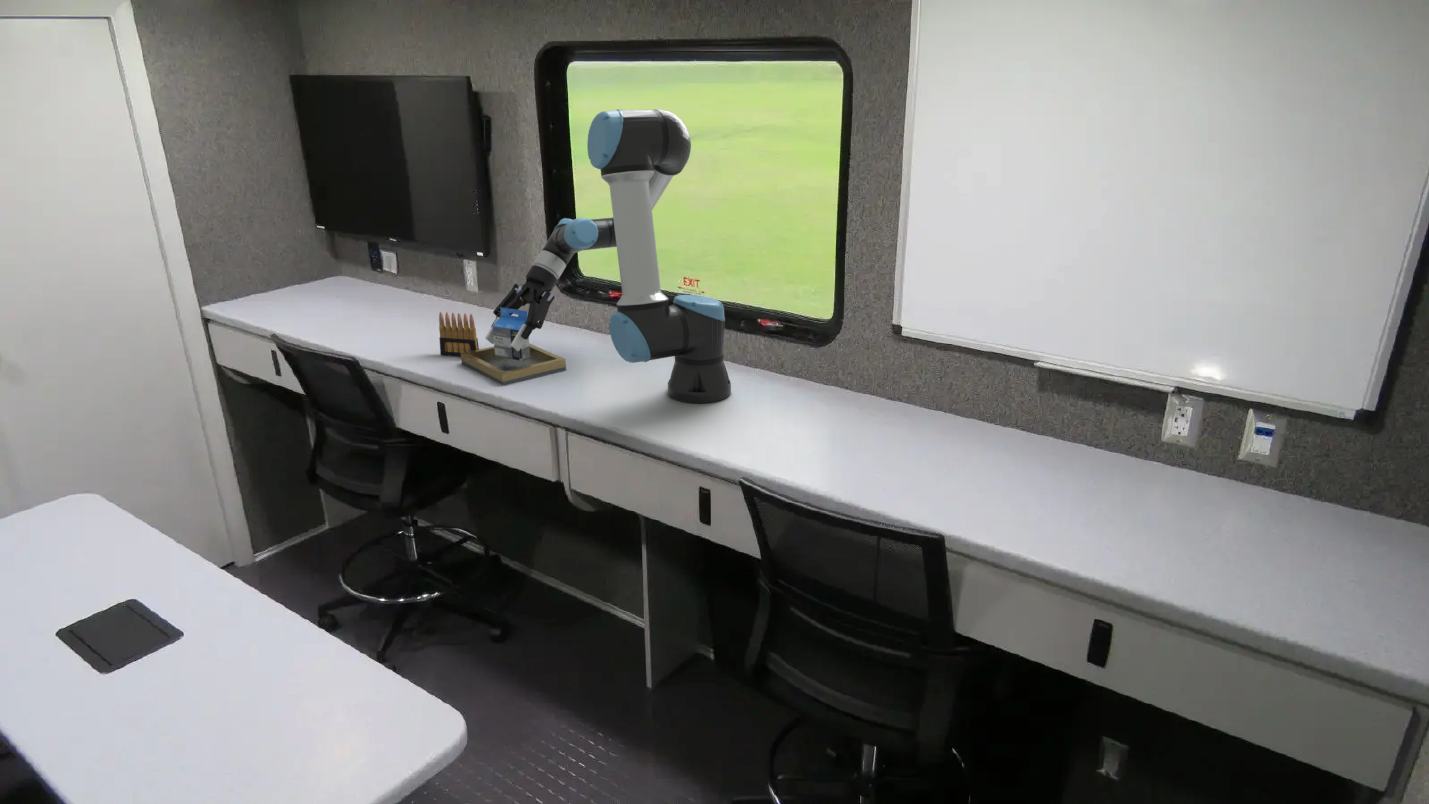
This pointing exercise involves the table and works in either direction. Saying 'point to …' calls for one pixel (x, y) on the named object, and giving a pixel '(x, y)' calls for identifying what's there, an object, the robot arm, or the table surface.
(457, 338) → the ammunition clip
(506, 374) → the shallow wooden tray
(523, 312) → the blue and grey box
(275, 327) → the table surface
